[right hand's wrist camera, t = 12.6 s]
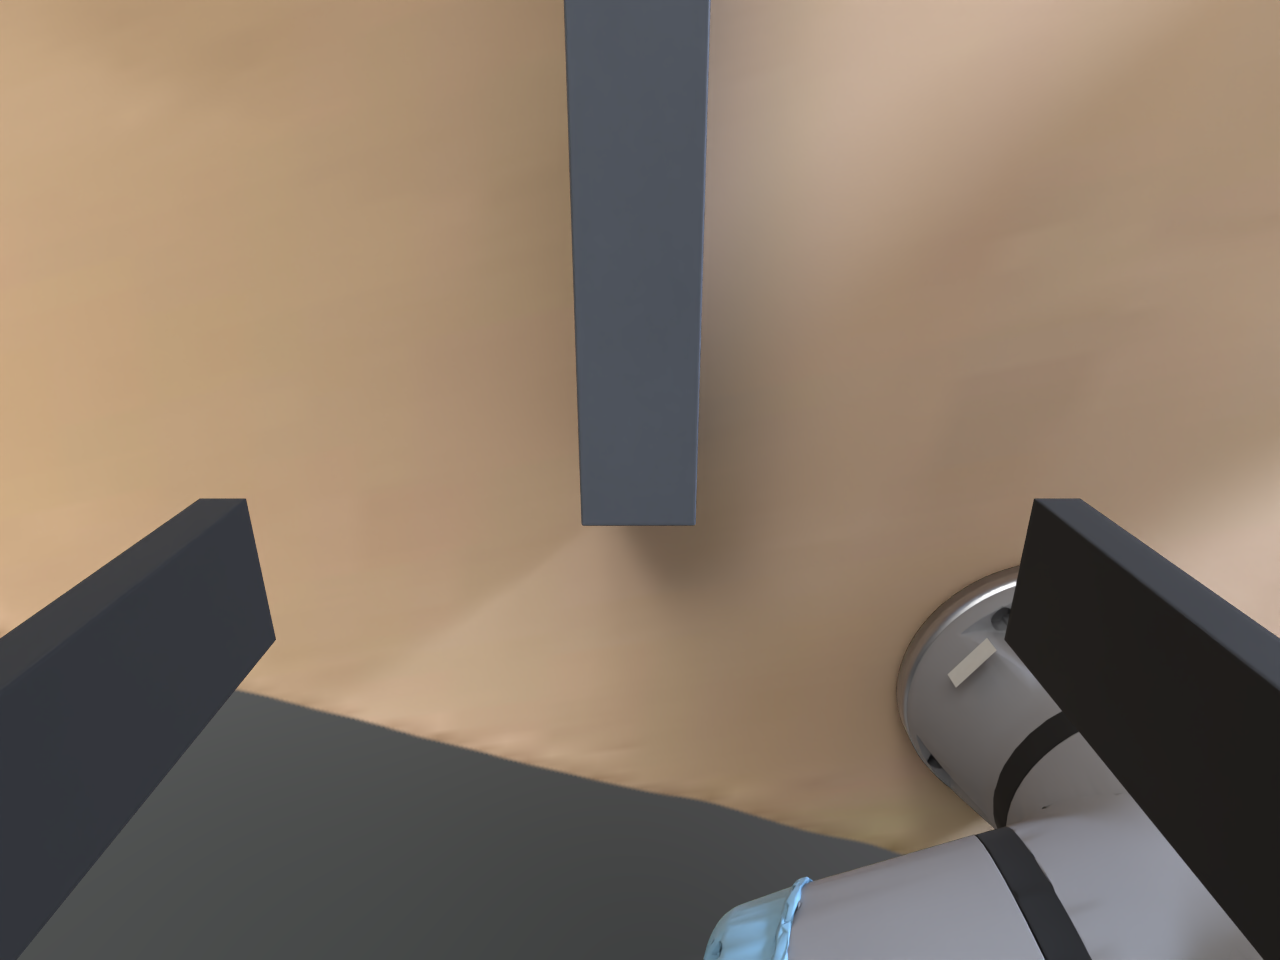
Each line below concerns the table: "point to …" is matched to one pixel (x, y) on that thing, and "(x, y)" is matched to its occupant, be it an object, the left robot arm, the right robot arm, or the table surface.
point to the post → (637, 251)
